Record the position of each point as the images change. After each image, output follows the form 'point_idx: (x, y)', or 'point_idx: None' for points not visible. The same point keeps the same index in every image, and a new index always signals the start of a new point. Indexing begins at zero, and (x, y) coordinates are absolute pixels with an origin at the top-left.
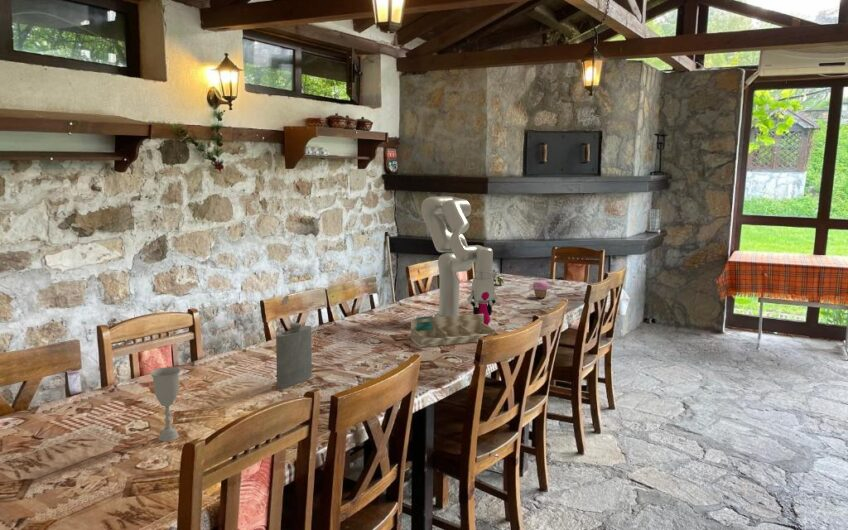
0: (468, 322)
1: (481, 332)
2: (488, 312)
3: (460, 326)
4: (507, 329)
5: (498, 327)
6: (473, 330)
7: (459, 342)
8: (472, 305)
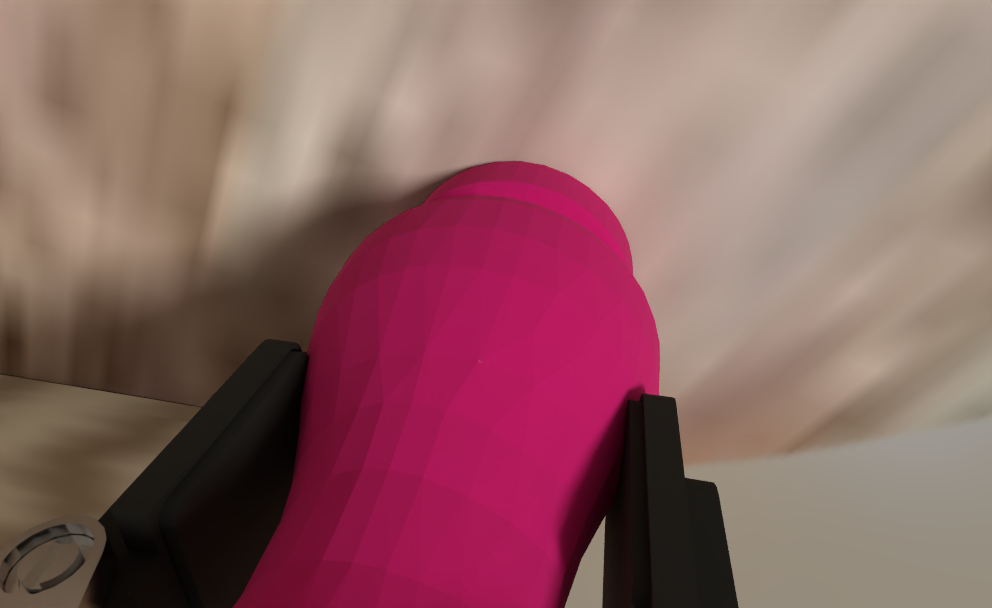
0: None
1: None
2: (613, 516)
3: None
4: (876, 439)
5: (848, 297)
6: None
7: None
8: (8, 586)
